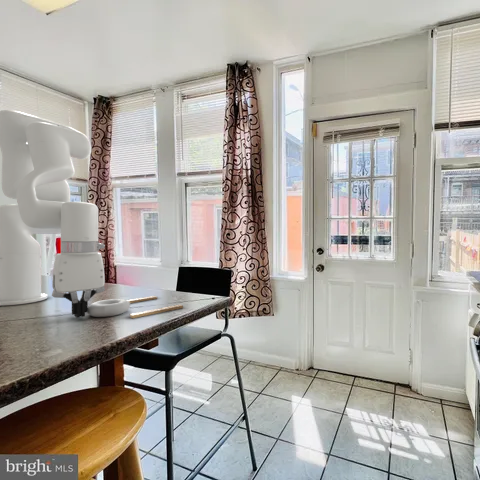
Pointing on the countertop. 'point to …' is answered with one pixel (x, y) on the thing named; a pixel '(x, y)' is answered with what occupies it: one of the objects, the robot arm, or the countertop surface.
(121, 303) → the donut
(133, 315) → the strips
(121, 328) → the countertop surface
